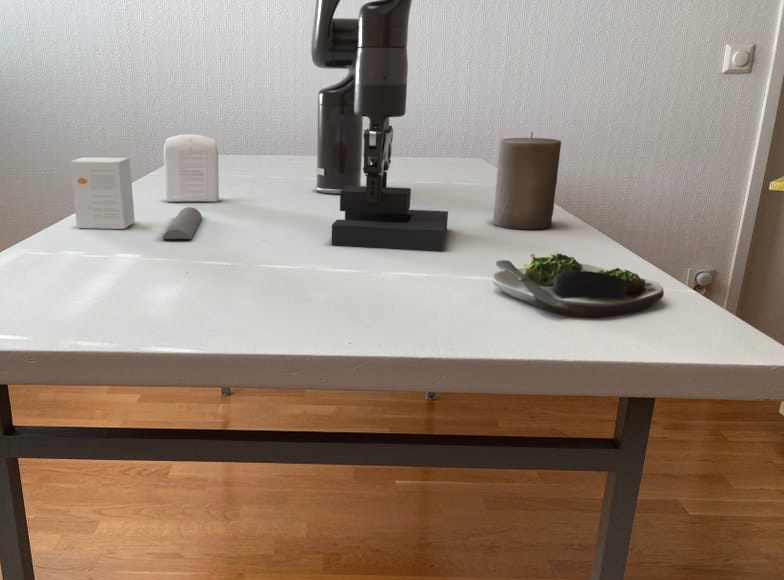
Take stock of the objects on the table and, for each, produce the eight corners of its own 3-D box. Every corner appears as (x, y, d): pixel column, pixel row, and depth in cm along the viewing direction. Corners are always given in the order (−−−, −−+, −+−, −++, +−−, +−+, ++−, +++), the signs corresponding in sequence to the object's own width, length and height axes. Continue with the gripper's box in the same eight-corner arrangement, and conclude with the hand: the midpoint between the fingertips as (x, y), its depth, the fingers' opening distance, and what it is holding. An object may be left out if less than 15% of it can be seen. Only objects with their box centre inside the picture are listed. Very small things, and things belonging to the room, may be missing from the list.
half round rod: (161, 241, 115) (160, 229, 114) (177, 217, 133) (177, 207, 133) (190, 241, 115) (189, 229, 114) (202, 217, 133) (202, 207, 133)
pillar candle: (564, 228, 128) (576, 133, 122) (514, 231, 124) (524, 134, 119) (527, 217, 136) (537, 128, 131) (480, 221, 133) (488, 129, 128)
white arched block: (219, 198, 152) (217, 133, 148) (219, 202, 148) (217, 135, 144) (165, 199, 151) (162, 133, 146) (165, 203, 147) (161, 135, 143)
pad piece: (346, 204, 122) (346, 185, 121) (409, 207, 120) (411, 188, 119) (339, 211, 117) (340, 190, 116) (406, 214, 115) (407, 193, 114)
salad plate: (446, 282, 94) (449, 245, 93) (553, 266, 103) (557, 231, 101) (569, 327, 79) (575, 283, 77) (682, 303, 87) (690, 263, 85)
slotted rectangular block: (348, 225, 128) (349, 206, 127) (446, 229, 125) (448, 211, 124) (331, 245, 114) (331, 224, 113) (441, 251, 111) (443, 230, 110)
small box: (135, 223, 128) (131, 157, 124) (124, 229, 123) (119, 161, 119) (88, 221, 129) (82, 156, 125) (75, 228, 124) (69, 160, 120)
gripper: (402, 82, 105) (395, 207, 111) (411, 81, 118) (405, 193, 124) (347, 82, 106) (343, 205, 112) (362, 80, 119) (358, 191, 125)
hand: (376, 198), depth 118 cm, fingers closed on pad piece, 6 cm apart
